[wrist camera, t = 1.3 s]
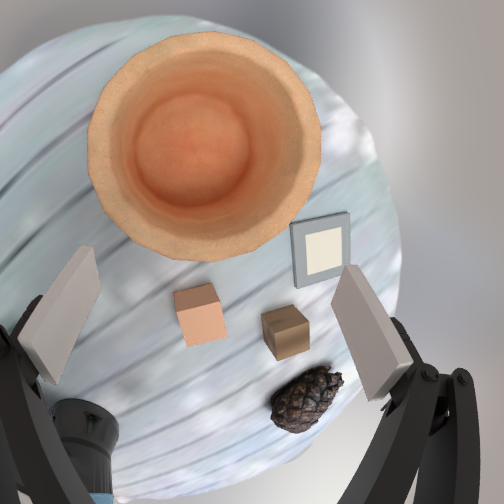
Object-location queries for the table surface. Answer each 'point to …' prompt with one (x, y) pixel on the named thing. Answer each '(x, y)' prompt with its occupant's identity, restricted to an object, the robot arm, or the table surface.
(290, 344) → the walnut cube
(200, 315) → the terracotta cube
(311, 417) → the pine cone
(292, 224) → the pad
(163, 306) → the table surface
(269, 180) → the pottery
